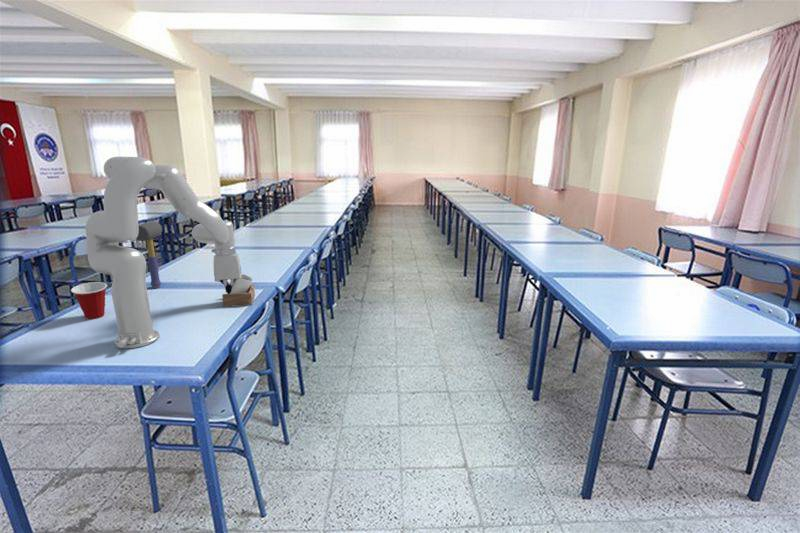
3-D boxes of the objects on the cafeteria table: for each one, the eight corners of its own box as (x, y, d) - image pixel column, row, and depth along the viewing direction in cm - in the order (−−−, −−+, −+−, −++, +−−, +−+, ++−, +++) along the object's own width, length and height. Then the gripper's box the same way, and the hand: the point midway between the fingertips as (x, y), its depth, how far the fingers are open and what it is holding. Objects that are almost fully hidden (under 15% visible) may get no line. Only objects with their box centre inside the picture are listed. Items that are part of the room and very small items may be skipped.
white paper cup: (240, 296, 178) (250, 276, 177) (244, 303, 173) (254, 282, 172) (225, 292, 173) (235, 271, 172) (229, 299, 168) (240, 278, 167)
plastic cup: (75, 324, 148) (69, 293, 145) (78, 314, 156) (71, 284, 153) (112, 318, 154) (106, 288, 150) (112, 309, 162) (107, 280, 159)
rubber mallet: (157, 292, 183) (147, 225, 174) (140, 292, 182) (129, 225, 174) (171, 283, 195) (162, 220, 186) (155, 283, 194) (145, 220, 186)
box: (252, 304, 170) (251, 293, 168) (223, 306, 167) (222, 294, 166) (255, 295, 180) (254, 284, 179) (228, 297, 178) (227, 286, 176)
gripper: (203, 254, 162) (209, 298, 167) (244, 252, 166) (248, 295, 171) (207, 250, 169) (212, 292, 174) (246, 248, 173) (250, 289, 178)
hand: (230, 293), depth 172 cm, fingers closed
